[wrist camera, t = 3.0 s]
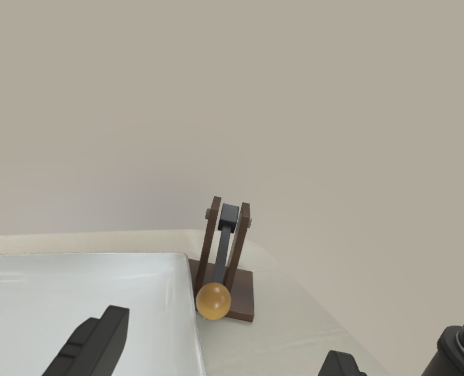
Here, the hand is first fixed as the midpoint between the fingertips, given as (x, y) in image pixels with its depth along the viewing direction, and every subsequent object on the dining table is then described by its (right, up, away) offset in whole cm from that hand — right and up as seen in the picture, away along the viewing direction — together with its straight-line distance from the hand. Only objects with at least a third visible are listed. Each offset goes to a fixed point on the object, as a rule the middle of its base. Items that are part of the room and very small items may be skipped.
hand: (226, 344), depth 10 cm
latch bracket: (-3, -9, +29) cm, 30 cm away
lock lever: (-1, -3, +22) cm, 22 cm away
